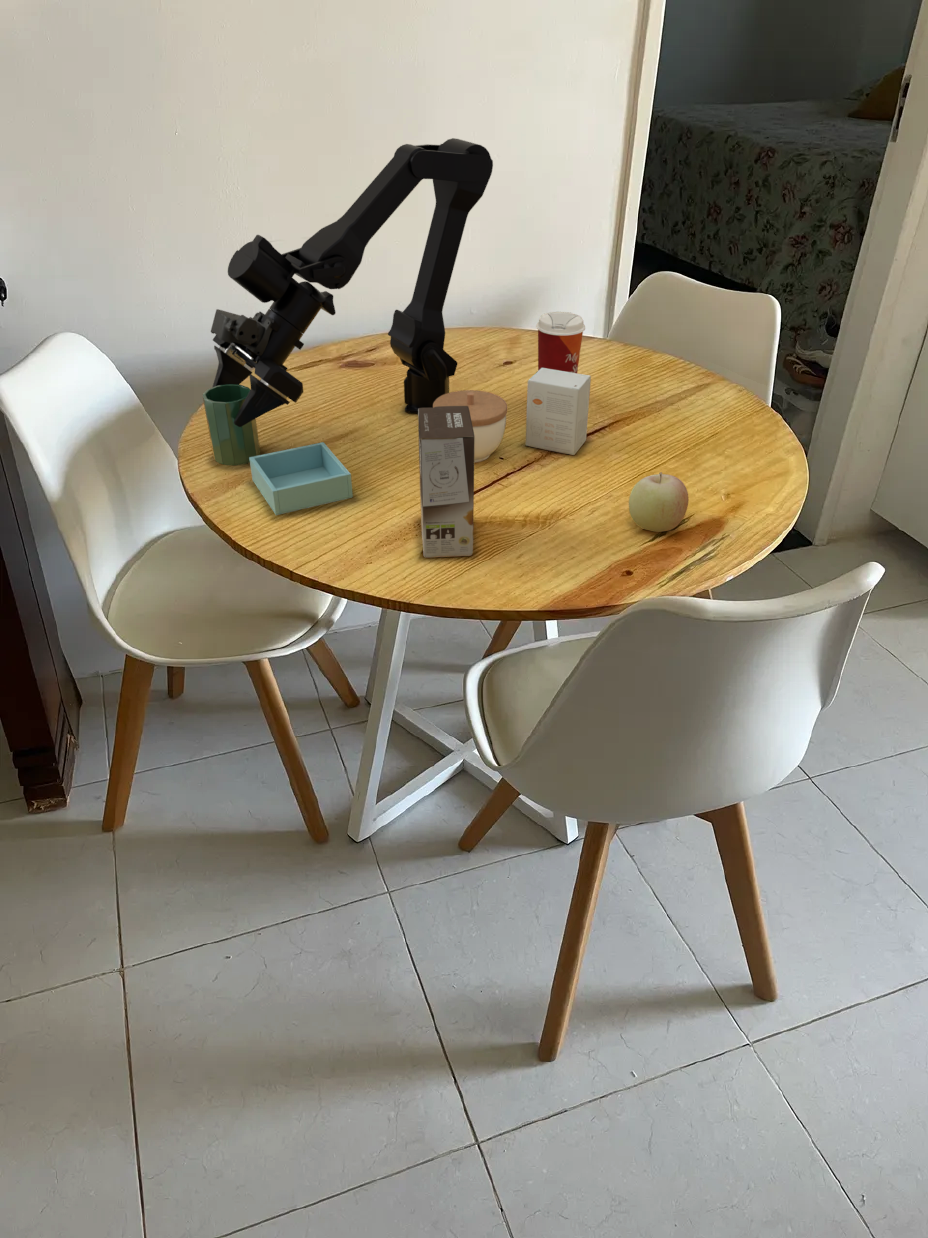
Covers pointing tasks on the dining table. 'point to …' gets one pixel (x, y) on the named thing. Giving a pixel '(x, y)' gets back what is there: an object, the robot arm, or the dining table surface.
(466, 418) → the coffee box
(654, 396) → the dining table surface
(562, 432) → the small box
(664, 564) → the dining table surface
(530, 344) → the dining table surface
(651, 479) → the fruit
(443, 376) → the robot arm
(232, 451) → the cup
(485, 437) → the trinket box
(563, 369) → the paper cup
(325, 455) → the bin
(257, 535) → the dining table surface
